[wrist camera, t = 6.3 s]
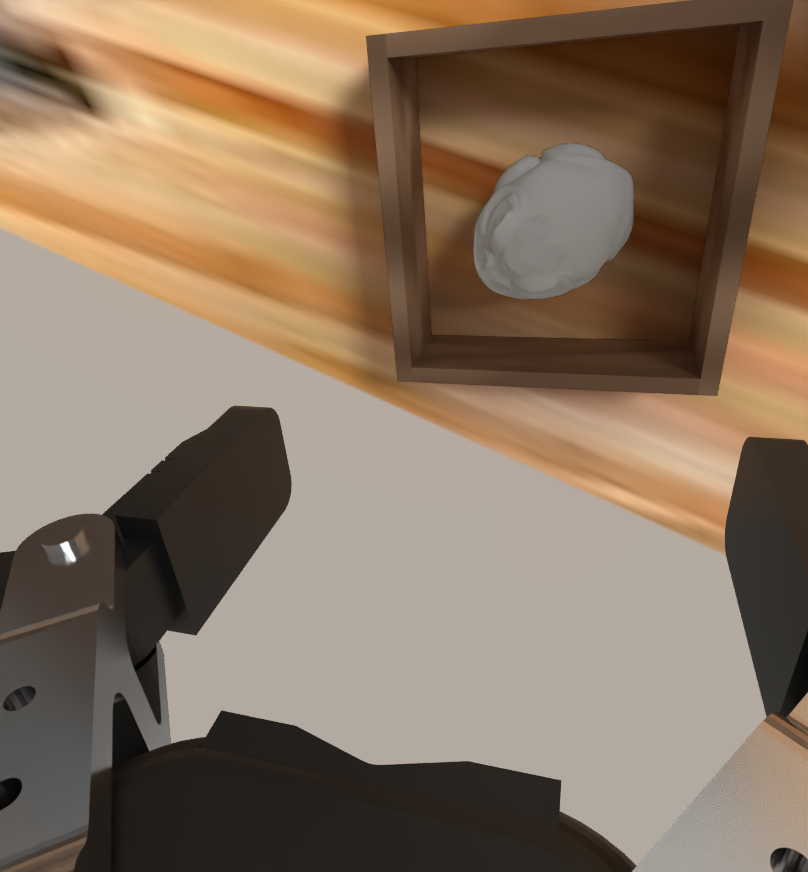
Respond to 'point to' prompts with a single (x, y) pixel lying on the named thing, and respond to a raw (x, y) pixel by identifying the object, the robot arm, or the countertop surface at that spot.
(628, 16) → the walnut frame
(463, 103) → the countertop surface
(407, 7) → the countertop surface
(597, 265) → the frog figurine
